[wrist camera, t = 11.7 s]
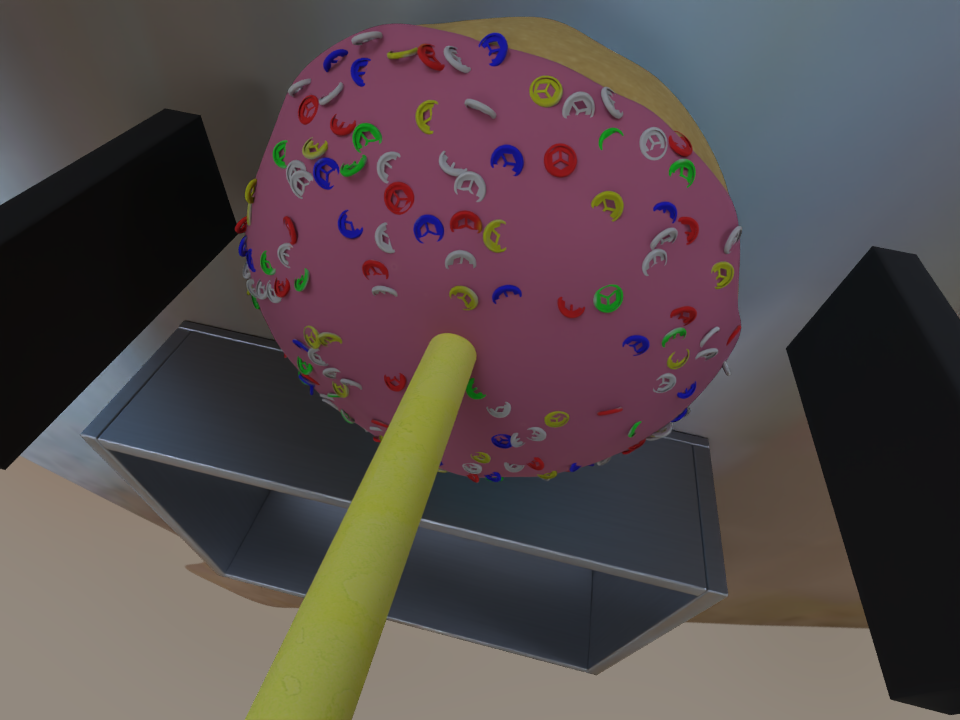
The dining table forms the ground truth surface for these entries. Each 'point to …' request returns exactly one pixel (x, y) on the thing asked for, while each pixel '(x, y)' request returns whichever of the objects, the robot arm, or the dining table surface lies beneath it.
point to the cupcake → (477, 285)
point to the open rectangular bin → (446, 518)
